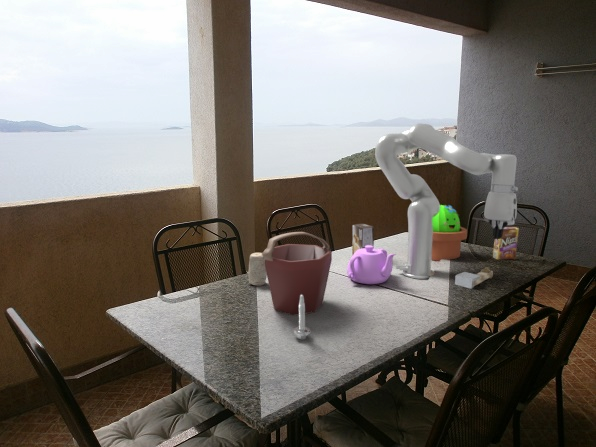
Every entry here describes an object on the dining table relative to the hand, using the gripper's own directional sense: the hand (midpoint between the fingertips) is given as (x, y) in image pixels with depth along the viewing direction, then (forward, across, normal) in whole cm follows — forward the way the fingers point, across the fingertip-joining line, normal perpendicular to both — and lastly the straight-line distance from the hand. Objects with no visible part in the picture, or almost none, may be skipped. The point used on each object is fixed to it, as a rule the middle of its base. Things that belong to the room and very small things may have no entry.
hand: (497, 238), depth 162 cm
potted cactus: (+19, +35, -24) cm, 47 cm away
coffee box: (+20, +57, +6) cm, 61 cm away
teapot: (+19, +35, +27) cm, 49 cm away
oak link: (+18, +5, 0) cm, 18 cm away
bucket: (+20, +39, +65) cm, 78 cm away
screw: (+19, +19, +81) cm, 86 cm away
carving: (+20, +64, +62) cm, 91 cm away
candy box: (+19, +12, -39) cm, 45 cm away
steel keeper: (+19, +6, +8) cm, 21 cm away
